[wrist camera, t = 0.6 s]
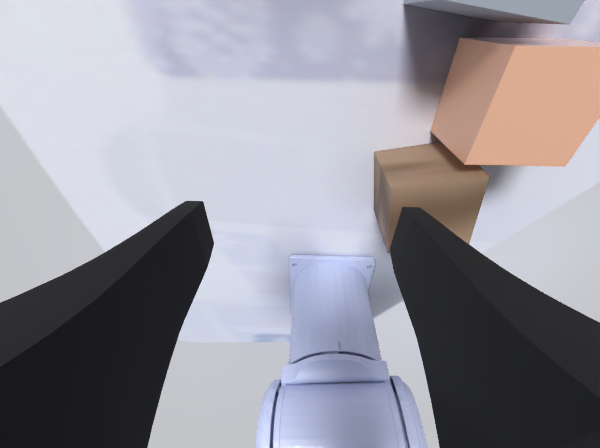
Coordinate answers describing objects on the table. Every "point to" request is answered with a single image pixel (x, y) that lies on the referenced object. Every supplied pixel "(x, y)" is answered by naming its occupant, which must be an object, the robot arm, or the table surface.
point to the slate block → (507, 9)
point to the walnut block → (427, 188)
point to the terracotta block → (519, 100)
